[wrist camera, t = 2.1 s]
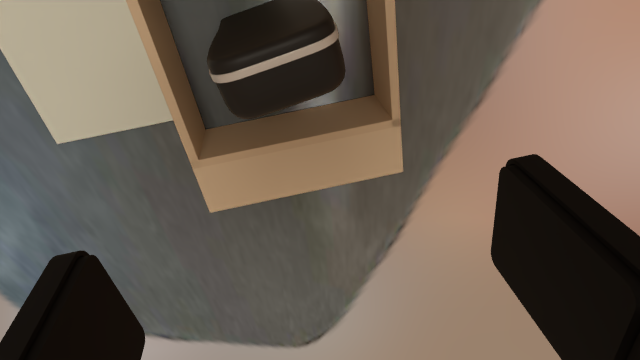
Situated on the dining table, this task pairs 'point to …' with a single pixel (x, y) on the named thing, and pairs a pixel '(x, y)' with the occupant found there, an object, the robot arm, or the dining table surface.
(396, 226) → the dining table surface
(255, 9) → the battery charger
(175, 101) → the carton
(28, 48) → the mat
